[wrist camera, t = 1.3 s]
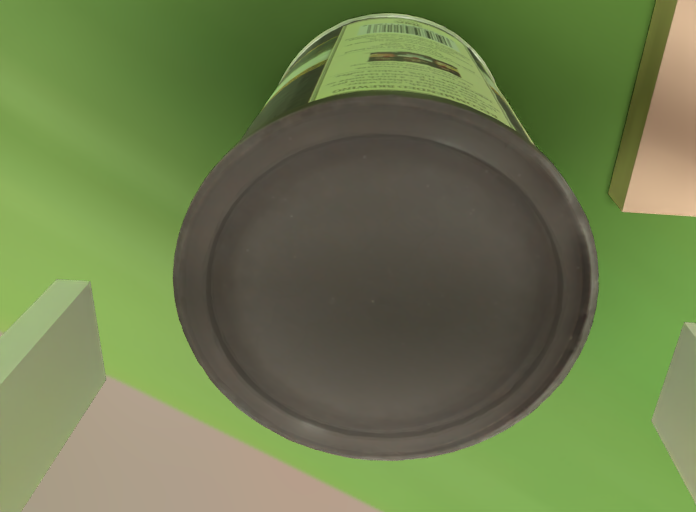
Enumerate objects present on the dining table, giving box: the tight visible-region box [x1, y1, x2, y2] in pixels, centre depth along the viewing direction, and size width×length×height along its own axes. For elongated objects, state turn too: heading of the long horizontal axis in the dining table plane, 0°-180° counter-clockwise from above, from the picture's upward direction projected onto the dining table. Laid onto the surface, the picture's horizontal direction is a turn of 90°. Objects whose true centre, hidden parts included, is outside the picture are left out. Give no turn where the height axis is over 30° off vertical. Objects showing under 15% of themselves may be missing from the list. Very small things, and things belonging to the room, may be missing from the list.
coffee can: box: [173, 13, 599, 461], centre depth 22 cm, size 10×10×14 cm
